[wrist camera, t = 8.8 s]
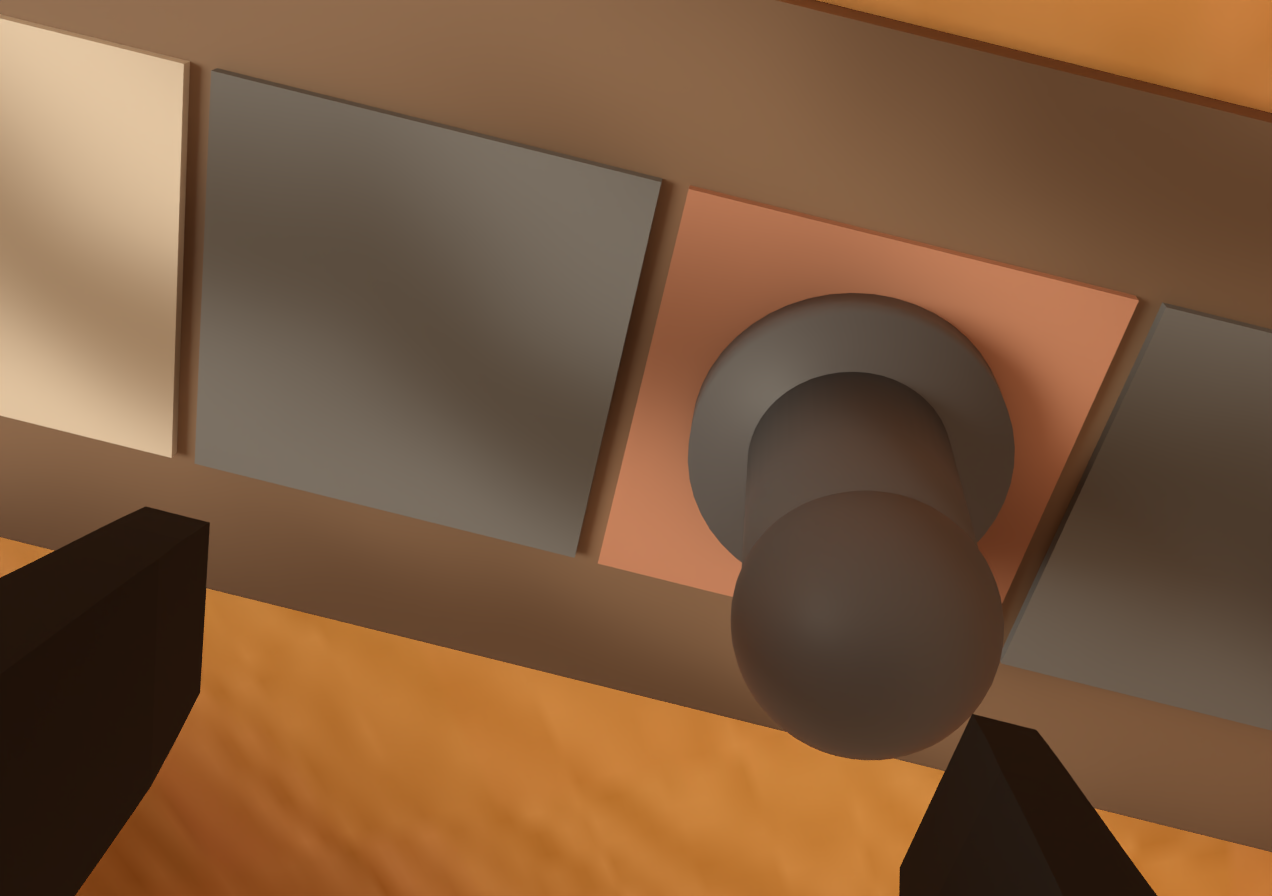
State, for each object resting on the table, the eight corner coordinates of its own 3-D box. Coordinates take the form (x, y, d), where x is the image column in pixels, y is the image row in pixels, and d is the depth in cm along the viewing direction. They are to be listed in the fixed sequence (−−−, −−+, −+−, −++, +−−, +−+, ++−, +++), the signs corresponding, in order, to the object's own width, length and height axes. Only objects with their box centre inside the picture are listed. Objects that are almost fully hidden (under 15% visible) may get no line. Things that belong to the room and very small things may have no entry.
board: (1290, 821, 22) (1315, 870, 21) (-155, 462, 22) (-201, 494, 21) (1694, 218, 17) (1755, 245, 16) (-243, -262, 17) (-313, -267, 16)
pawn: (943, 599, 20) (1008, 911, 14) (660, 528, 20) (612, 814, 14) (1054, 338, 17) (1185, 586, 12) (735, 258, 17) (711, 468, 12)
